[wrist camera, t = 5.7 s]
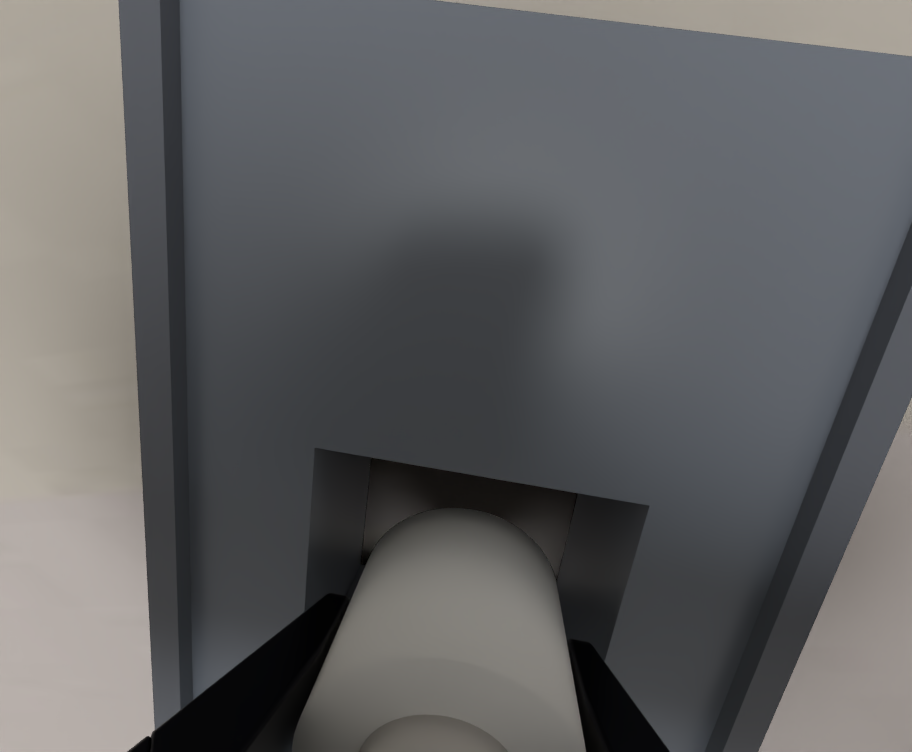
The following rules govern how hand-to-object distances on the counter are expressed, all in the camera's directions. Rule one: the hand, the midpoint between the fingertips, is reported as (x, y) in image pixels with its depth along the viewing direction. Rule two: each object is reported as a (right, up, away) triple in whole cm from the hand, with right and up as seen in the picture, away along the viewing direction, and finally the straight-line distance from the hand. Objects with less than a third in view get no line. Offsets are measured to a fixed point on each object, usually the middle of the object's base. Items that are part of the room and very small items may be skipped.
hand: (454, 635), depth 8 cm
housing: (0, -1, +5) cm, 5 cm away
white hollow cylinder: (0, 0, +1) cm, 1 cm away
